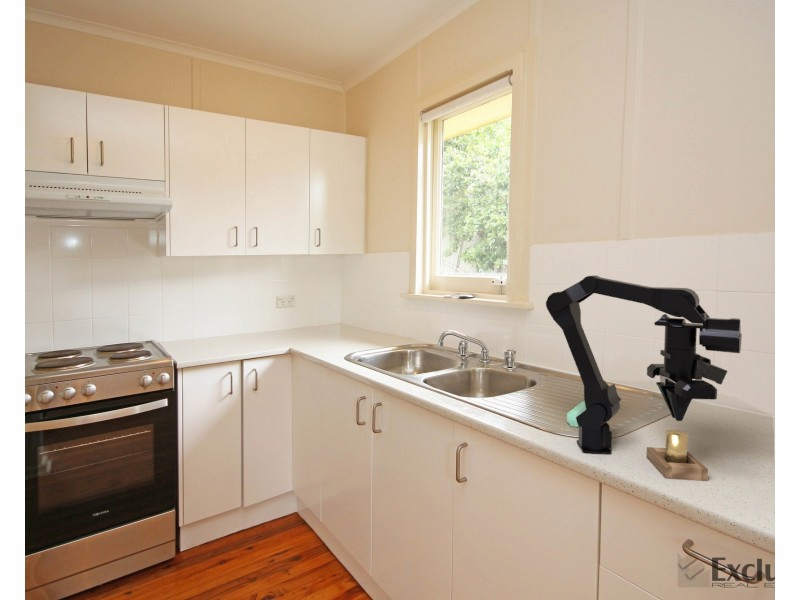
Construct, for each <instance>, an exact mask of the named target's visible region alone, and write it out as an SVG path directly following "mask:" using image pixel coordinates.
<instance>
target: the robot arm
mask: <svg viewBox="0 0 800 600" xmlns="http://www.w3.org/2000/svg"><path fill="white" fill-rule="evenodd" d="M594 294H597V295H601V296H607V297H610V298H611V297H612V298H616V299H620V300H626V301H629V302H634V303H639V304H644V305H646V306H649V307H651V308H653V309H654V310H657V311H659V312H662V313H664V314H662V315H661V317H660V318H659V319H658V320H656V321H655V322H654V323H653V325H654V326H659V327H664V344H663V345H664V346H663V347H664V348H663V349H660V355H661V356H663V363H650V364H649V365H648V366H647V367H646V376H648V377H649V378H651V379H655V377H656V376H657V377H658V376H659V381H657V382H656V383H655V384H656V385H657V387H658V389H659V391H660V394H661V396H662V397H663V400H664V402H665V404H666V406H667V408H668V411H669V413H670V415H671V417H672V418H673V419H675V421H677V422H682V421H683V420H684V418H685V415H686V413H687V410H688V408H689V406H690V404H691V403H692V400H717V399H718V389H717V387H715V386H714V385H713V384H711V383H710V382H708V381H706V380H709V381H712V382H715V383H716V384H718V385H722V384H723V383H724V380H725V378H726V375H727V374H728V370H726V369H724V368H723V367H719V366H717V365H714V364H712V360H711V358H707V357H705V356H702V355H701V354H699V353H697V336H699V337H698V342H699V345H700V346H702V347H704V348H705V351H710V352H721V353H722V352H723V353H732V354H741V349H742V338H743V336H742V334H743V333H742V332H741V321H742V320H741V318H736V317H735V318H715V317H710V315H709V314H708V313H707V312H706V311H705V310H704V308H703V307H702V305H700V297H699V295H698V293H696V291H694V289H691V288H688V287H667V286H666V287H663V286H662V287H658V286H657V287H655V286H654V287H652V286H647V285H642V284H636V283H632V282H627V281H622V280H616V279H615V280H614V279H611V278H610V279H609V278H605V277H601V276H599V275H587V276H585V277H583V279H582V280H579V281H578V282H576V283H574V284H573V285H571V286H569V287H567V288H565V289H564V290H562V291H561V290H560V291H556V292H552V293H551V294H549V295H548V297H547V298H546V301H545V306H546V307H545V308H546V310H547V311H548V313H549V315H550V316H551V318H552V321H554V322H555V323H556V325H558V326H559V327H560V328H561V330H562V332H563V335H564V338H565V340H566V343H567V345H568V348H569V350H570V353H571V356H572V358H573V361H574V363H575V366H576V369H577V372H578V374H579V376H580V378H581V381H582V384H583V399H584V400H583V401H585V406H586V410H585V411H584V412H582V413H581V414H580V415H578V416H577V417H576V420H577V423H578V426H579V427H578V439H577V440H576V443H577V445H578V447H579V449H580V451H581V452H582V453H584V452H585V453H587V454H603V453H607V455H609V454H610V455H611V454H612V450H611V449H612V443H613V442H612V441H613V439H612V438H613V431H611V429H610V428H611V427H610V424H609V423H608V422H610V420H611V419H613V417H615V416H616V414H617V413H618V412H619V411H620V408H621V404H620V401H622V398H621V397H620V396H619V394H618V391H617V387H616V384H614V383H612V384H610V385H609V384H608V383H607V382H606V381H605V379H604V378H603V376H602V373H601V371H600V368H599V366H598V364H597V361H596V359H595V356H594V354H593V351H592V348H591V346H590V344H589V340H588V339H587V336H586V333H585V331H584V329H583V328H584V327H583V325H582V322H581V321H582V320H581V319H582V313H581V312H582V311H581V306H580V303H582V302H584V301H586V299H588V298H589V297H590V296H592V295H594ZM669 315H670V316H672V317H670V316H669ZM686 320H687V321H688V323H687V322H686ZM698 329H699V335H697V333H698V332H697V331H698ZM704 379H706V380H704ZM585 453H584V454H585Z"/></svg>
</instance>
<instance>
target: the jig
mask: <svg viewBox="0 0 800 600" xmlns="http://www.w3.org/2000/svg"><path fill="white" fill-rule="evenodd" d="M646 460H648V461H649V462H650V463H651V464H652V466H653V467H654V468H656V470H657V471H658V472H659V474H661V476H662V477H663V478H665V479H667V480H681V481H682V480H684V481H685V480H687V481H703V482H704V481H706V482H708V479H709V478H708V475H709V469H708V467H706V466H705V465H704V464H703V463H702V462H700V461H699V460H698V459H697V458H696V457H695V456H694V455H692V453H690V452H689V451H688V450H687V461H686V463H667V462H666V461H665V447H656V446H655V447H651V446H650V447H649V446H647V447H646Z"/></svg>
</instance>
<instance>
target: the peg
mask: <svg viewBox="0 0 800 600" xmlns="http://www.w3.org/2000/svg"><path fill="white" fill-rule="evenodd" d="M665 430H666V431H665V441H664V442H665V444H664V445H665V447H664V448H665V461H666V462H667V463H686V461H687V451H688V438H689V435H688V433H687V432H685V431H684V430H680V429H674V428H673V429H665Z"/></svg>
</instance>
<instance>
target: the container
mask: <svg viewBox="0 0 800 600" xmlns="http://www.w3.org/2000/svg"><path fill="white" fill-rule="evenodd" d="M585 410H586V406H585V401H584V400H582V401H581V402H580V403H578V404H577V405H576V406H575V407H573V408H572V409H571V410H569V412H568V411H567V413H566V422H567V423H568V424H569V426H571V427H575V428H579V426H578V423H577V420H576V417H577V416H578V415H580V414H581V413H582V412H584V411H585Z"/></svg>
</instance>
